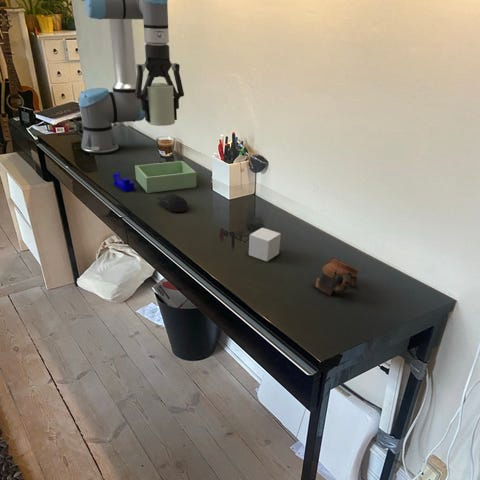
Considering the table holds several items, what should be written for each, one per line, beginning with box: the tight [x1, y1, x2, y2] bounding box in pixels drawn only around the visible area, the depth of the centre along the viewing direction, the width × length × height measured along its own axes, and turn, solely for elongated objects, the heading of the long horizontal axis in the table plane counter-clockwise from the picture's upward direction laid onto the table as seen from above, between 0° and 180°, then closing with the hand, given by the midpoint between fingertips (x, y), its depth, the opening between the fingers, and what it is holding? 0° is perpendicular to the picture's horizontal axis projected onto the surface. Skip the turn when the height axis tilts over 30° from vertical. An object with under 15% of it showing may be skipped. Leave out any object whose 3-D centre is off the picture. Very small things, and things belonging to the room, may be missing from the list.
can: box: [146, 82, 176, 127], centre depth 162 cm, size 9×9×12 cm
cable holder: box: [112, 172, 135, 193], centre depth 170 cm, size 8×4×4 cm, turn 39°
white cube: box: [248, 227, 282, 262], centre depth 131 cm, size 6×6×6 cm
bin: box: [134, 160, 197, 194], centre depth 174 cm, size 14×18×5 cm
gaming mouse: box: [159, 193, 189, 213], centre depth 158 cm, size 6×15×4 cm, turn 36°
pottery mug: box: [315, 257, 359, 296], centre depth 117 cm, size 12×10×8 cm
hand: (161, 120), depth 165 cm, fingers closed on can, 9 cm apart
